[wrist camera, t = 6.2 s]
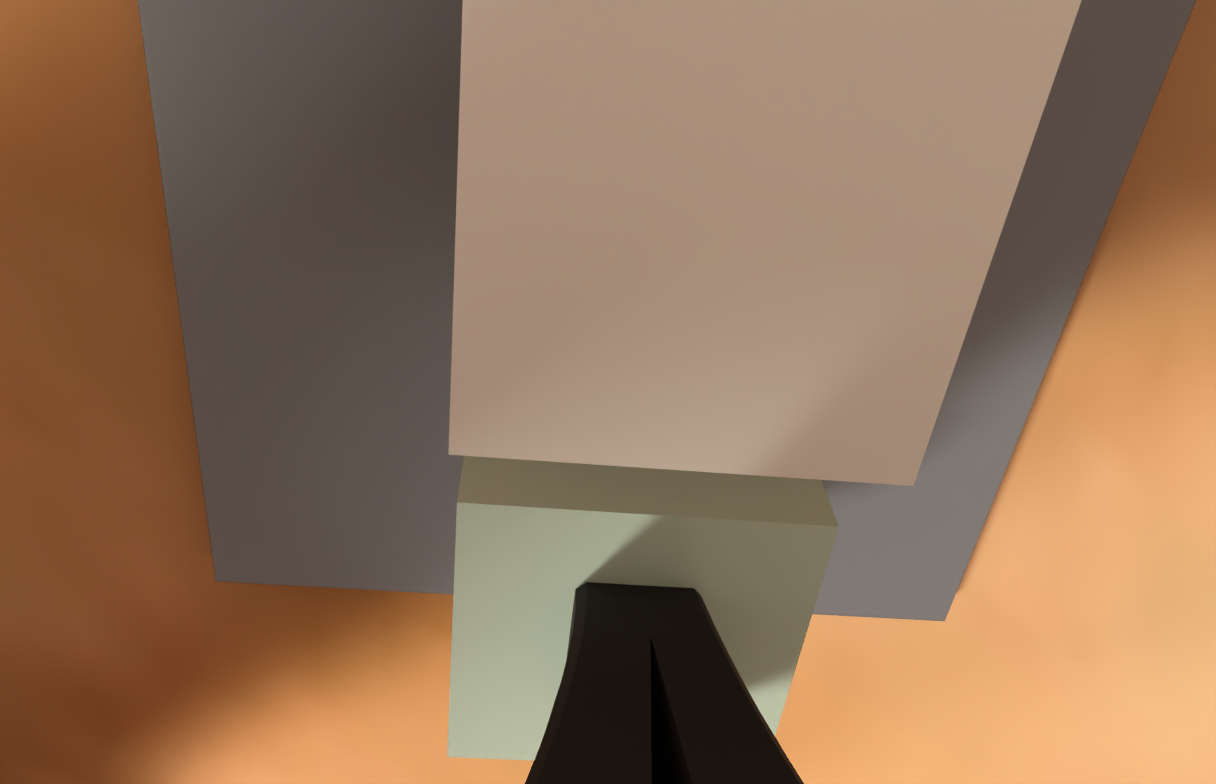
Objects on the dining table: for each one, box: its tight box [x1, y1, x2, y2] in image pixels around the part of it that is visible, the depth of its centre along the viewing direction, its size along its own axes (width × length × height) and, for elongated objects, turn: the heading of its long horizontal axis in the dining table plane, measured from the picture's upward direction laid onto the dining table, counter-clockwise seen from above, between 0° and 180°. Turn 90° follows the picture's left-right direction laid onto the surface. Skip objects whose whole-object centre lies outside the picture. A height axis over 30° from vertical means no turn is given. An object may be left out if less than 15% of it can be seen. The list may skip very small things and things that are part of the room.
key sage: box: [447, 456, 839, 760], centre depth 13 cm, size 4×4×4 cm
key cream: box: [449, 0, 1082, 486], centre depth 9 cm, size 4×4×4 cm
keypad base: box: [138, 0, 1196, 621], centre depth 11 cm, size 17×12×2 cm
